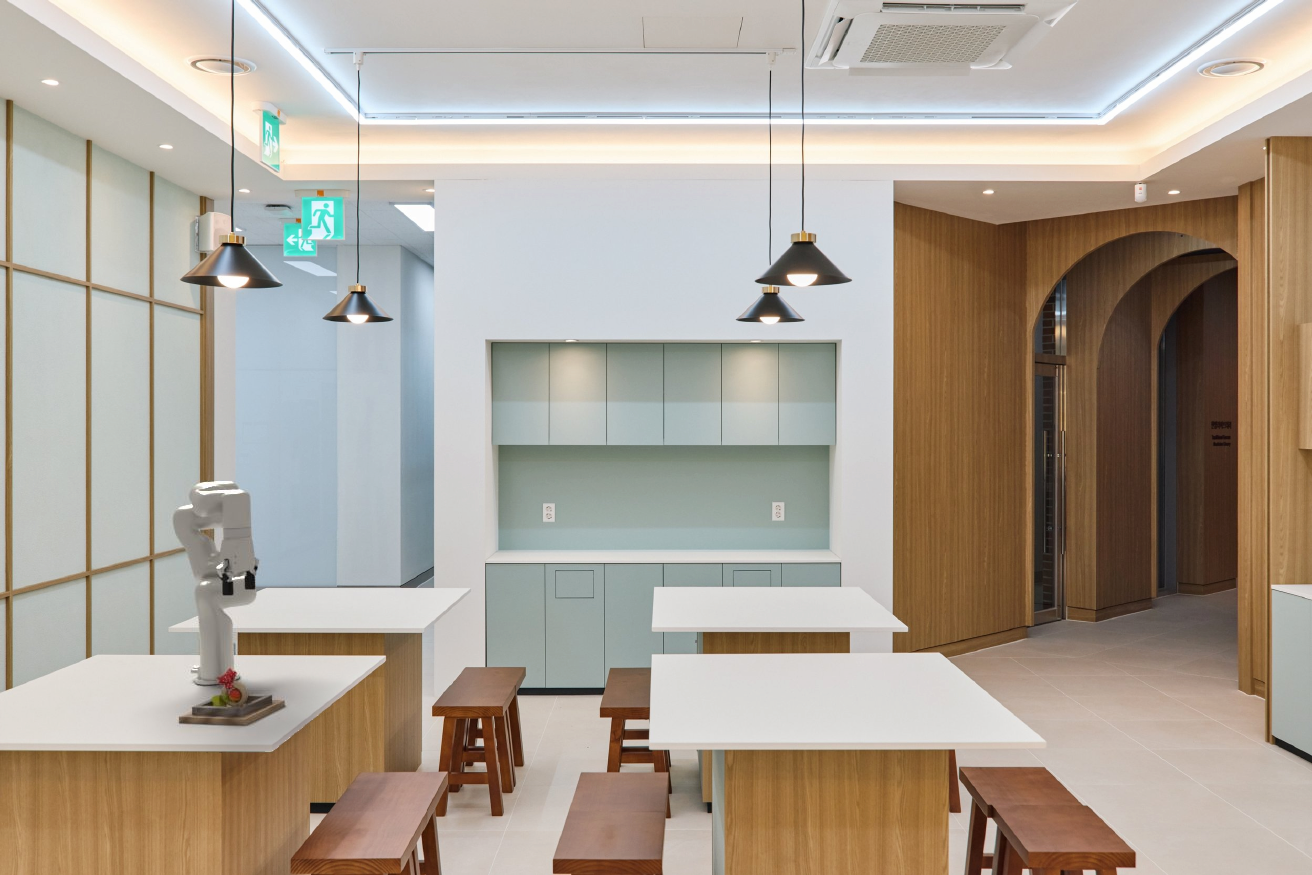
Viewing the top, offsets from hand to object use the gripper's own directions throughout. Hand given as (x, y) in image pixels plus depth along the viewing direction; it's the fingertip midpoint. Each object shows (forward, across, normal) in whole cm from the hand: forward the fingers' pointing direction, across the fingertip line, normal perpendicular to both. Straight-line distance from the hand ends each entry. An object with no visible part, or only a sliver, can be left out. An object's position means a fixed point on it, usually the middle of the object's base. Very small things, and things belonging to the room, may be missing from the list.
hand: (239, 592), depth 263 cm
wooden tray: (+30, +16, +9) cm, 35 cm away
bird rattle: (+29, +16, +9) cm, 35 cm away
